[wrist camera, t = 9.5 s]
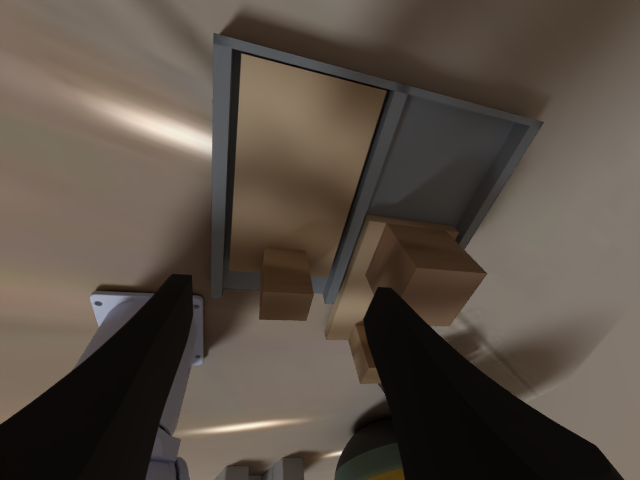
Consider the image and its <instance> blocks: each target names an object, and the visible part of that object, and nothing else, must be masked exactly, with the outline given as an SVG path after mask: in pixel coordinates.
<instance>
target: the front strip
mask: <svg viewBox="0 0 640 480" xmlns="http://www.w3.org/2000/svg"><path fill="white" fill-rule="evenodd" d="M386 92H387V91H385V90H382V89H379V88H375V87H371V86H368V85H364V84H360V83H356V82H352V81H348V80H344V79H340V78H337V77H333V76H329V75H325V74H321V73H317V72H313V71H310V70H306V69H302V68H298V67H294V66H290V65H286V64H283V63H279V62H275V61H271V60H267V59H263V58H259V57H255V56H252V55H248V54H244V53H242V54H241V71H240V89H239V106H238V124H237V142H236V159H235V177H234V195H233V212H232V230H231V248H230V265H229V271H241V272H256V273H261V287H260V314H259V319H260V320H299V321H306V320H307V316H308V313H309V309H310V306H311V302H312V299H313V296H314V292H313V287H312V281H311V276H315V277H328V276H329V273H330V270H331V267H332V264H333V260H334V257H335V254H336V251H337V248H338V245H339V241H340V238H341V235H342V232H343V229H344V225H345V222H346V219H347V216H348V213H349V210H350V206H351V203H352V200H353V197H354V194H355V190H356V187H357V184H358V181H359V178H360V175H361V171H362V168H363V165H364V162H365V159H366V156H367V152H368V149H369V146H370V143H371V140H372V136H373V133H374V130H375V127H376V124H377V121H378V117H379V114H380V111H381V108H382V105H383V101H384V98H385V95H386Z"/></svg>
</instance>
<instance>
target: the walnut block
mask: <svg viewBox="0 0 640 480" xmlns="http://www.w3.org/2000/svg"><path fill="white" fill-rule="evenodd" d="M486 275H487V273H486V272H485V271H484V270H483V269H482V268H481V267H480V266H479V265H478V264H477V263H476V262H475V261H474V260H473V259H472V258H471V256H470V255H469V254H468V253H467V252H466V251H465V250H464V249H463V248H462V247H461V246H460V245H459V244H458V243H457V242H456V241H455V240H454V239H453V238H452V237H451V236H450V235H449V234H448V233H447V232H446V231H445V230H437V229H429V228H421V227H413V226H405V225H397V224H389V223H386V225H385V228H384V230H383V233H382V235H381V238H380V240H379V242H378V245H377V247H376V250H375V252H374V255H373V257H372V260H371V262H370V265H369V267H368V269H367V272H366V274H365V276H366V278H367V280H368V283H369V285H370V287H371V290H372V292H373V295H374V294H375V292H376V290H377V288H378V287H390V288H392V289H393V290H394V291H395V292H396V293H397V294H398V295H399V296H400V297H401V298H402V299H403V300H404V301H405V302H406V303H407V304H408V305H409V306H410V307H411V308H412V309H413V310H414V311H415V312H416V313H417V314H418V315H419V316H420V317H421V318H422V319H423V320H424V321H425V322H426V323H427V324H428V325H429V326H450V325H451V323H452V322H453V321H454V319H455V318H456V316H457V315H458V314H459V312H460V311H461V310H462V308H463V307H464V305H465V304H466V303H467V301H468V300H469V298H470V297H471V296H472V294H473V293H474V291H475V290H476V289H477V287H478V286H479V285H480V283H481V282H482V280H483V279H484V278H485V276H486Z"/></svg>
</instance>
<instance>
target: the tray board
mask: <svg viewBox="0 0 640 480" xmlns="http://www.w3.org/2000/svg"><path fill="white" fill-rule="evenodd" d="M242 53H244V54H248V55H252V56H255V57H259V58H263V59H267V60H271V61H275V62H279V63H283V64H286V65H290V66H294V67H298V68H302V69H306V70H310V71H313V72H317V73H321V74H325V75H329V76H333V77H337V78H340V79H344V80H348V81H352V82H356V83H360V84H364V85H368V86H371V87H375V88H379V89H382V90H385V91H387V92H386V95H385V98H384V101H383V105H382V108H381V111H380V114H379V117H378V121H377V124H376V127H375V130H374V133H373V136H372V140H371V143H370V146H369V149H368V152H367V156H366V159H365V162H364V165H363V168H362V171H361V175H360V178H359V181H358V184H357V187H356V190H355V194H354V197H353V200H352V203H351V206H350V210H349V213H348V216H347V219H346V222H345V225H344V229H343V232H342V235H341V238H340V241H339V245H338V248H337V251H336V254H335V257H334V260H333V264H332V267H331V270H330V273H329V276H328V277H315V276H311V281H312V287H313V292H314V293H321V294H323V297H324V301H325V304H334V302H335V299H336V296H337V294H338V291H339V289H340V286H341V283H342V280H343V277H344V275H345V272H346V269H347V266H348V263H349V260H350V258H351V255H352V252H353V249H354V246H355V243H356V241H357V238H358V235H359V232H360V229H361V227H362V224H363V221H364V218H365V215H366V214H368V215H376V216H383V217H391V218H398V219H406V220H414V221H421V222H429V223H436V224H444V225H451V226H453V227H454V228H455V229H456V230H457V231H458V232H459V234H458V235H457V237H456V239H455V241H456V242H457V243H458V244H459V245H460V246H461V247H462V248H463V249H464V250H465V248H466V246H467V245H468V243H469V241H470V240H471V238H472V237H473V235H474V233H475V232H476V230H477V229H478V227H479V225H480V224H481V222H482V221H483V219H484V217H485V216H486V214H487V213H488V211H489V209H490V208H491V206H492V205H493V203H494V201H495V200H496V198H497V197H498V195H499V193H500V192H501V190H502V189H503V187H504V185H505V184H506V182H507V181H508V179H509V177H510V176H511V174H512V173H513V171H514V169H515V168H516V166H517V164H518V163H519V161H520V160H521V158H522V156H523V155H524V153H525V152H526V150H527V148H528V147H529V145H530V144H531V142H532V140H533V139H534V137H535V136H536V134H537V132H538V131H539V129H540V128H541V126H542V124H543V123H544V122H542V121H538V120H534V119H531V118H527V117H523V116H520V115H516V114H512V113H508V112H505V111H501V110H497V109H494V108H490V107H486V106H482V105H479V104H475V103H471V102H468V101H464V100H460V99H456V98H453V97H449V96H445V95H442V94H438V93H434V92H431V91H427V90H423V89H419V88H416V87H412V86H408V85H405V84H401V83H397V82H393V81H390V80H386V79H382V78H379V77H375V76H371V75H368V74H364V73H360V72H356V71H353V70H349V69H345V68H342V67H338V66H334V65H330V64H327V63H323V62H319V61H316V60H312V59H308V58H304V57H301V56H297V55H293V54H290V53H286V52H282V51H279V50H275V49H271V48H267V47H264V46H260V45H256V44H253V43H249V42H245V41H241V40H238V39H234V38H230V37H227V36H223V35H219V34H216V33H214V42H213V137H212V233H211V299H222V294H223V289H224V288H225V289H244V290H260V287H261V273H256V272H241V271H229V265H230V248H231V230H232V212H233V195H234V177H235V159H236V142H237V124H238V106H239V89H240V71H241V54H242Z"/></svg>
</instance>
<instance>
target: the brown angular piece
mask: <svg viewBox="0 0 640 480" xmlns="http://www.w3.org/2000/svg"><path fill="white" fill-rule="evenodd" d="M386 223H389V224H397V225H405V226H413V227H421V228H429V229H437V230H445V231H446V232H447V233H448V234H449V235H450V236H451V237H452V238H453V239H454V240H455V239H456V237H457V235H458V234H459V232H458V231H457V230H456V229H455V228H454V227H453V226H451V225H444V224H436V223H429V222H421V221H414V220H406V219H398V218H391V217H383V216H376V215H368V214H366V215H365V218H364V221H363V224H362V227H361V229H360V232H359V235H358V238H357V241H356V243H355V246H354V249H353V252H352V255H351V258H350V260H349V263H348V266H347V269H346V272H345V275H344V277H343V280H342V283H341V286H340V289H339V291H338V294H337V297H336V300H335V303H334V306H333V308H332V311H331V314H330V317H329V320H328V322H327V325H326V328H325V331H324V332H325V337H326V340H348V341H349V345H350V348H351V352H352V356H353V359H354V363H355V367H356V370H357V374H358V378H359V381H360V384H370V383H381V381H380V378H379V375H378V372H377V369H376V367H375V364H374V361H373V358H372V355H371V352H370V349H369V346H368V342H367V338H366V333H365V328H364V322H363V318H364V316H365V314H366V312H367V310H368V307H369V305H370V303H371V301H372V299H373V296H374V295H373V292H372V290H371V287H370V285H369V283H368V280H367V278H366V276H365V274H366V272H367V269H368V267H369V265H370V262H371V260H372V257H373V255H374V252H375V250H376V247H377V245H378V242H379V240H380V238H381V235H382V233H383V230H384V228H385V225H386Z"/></svg>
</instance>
